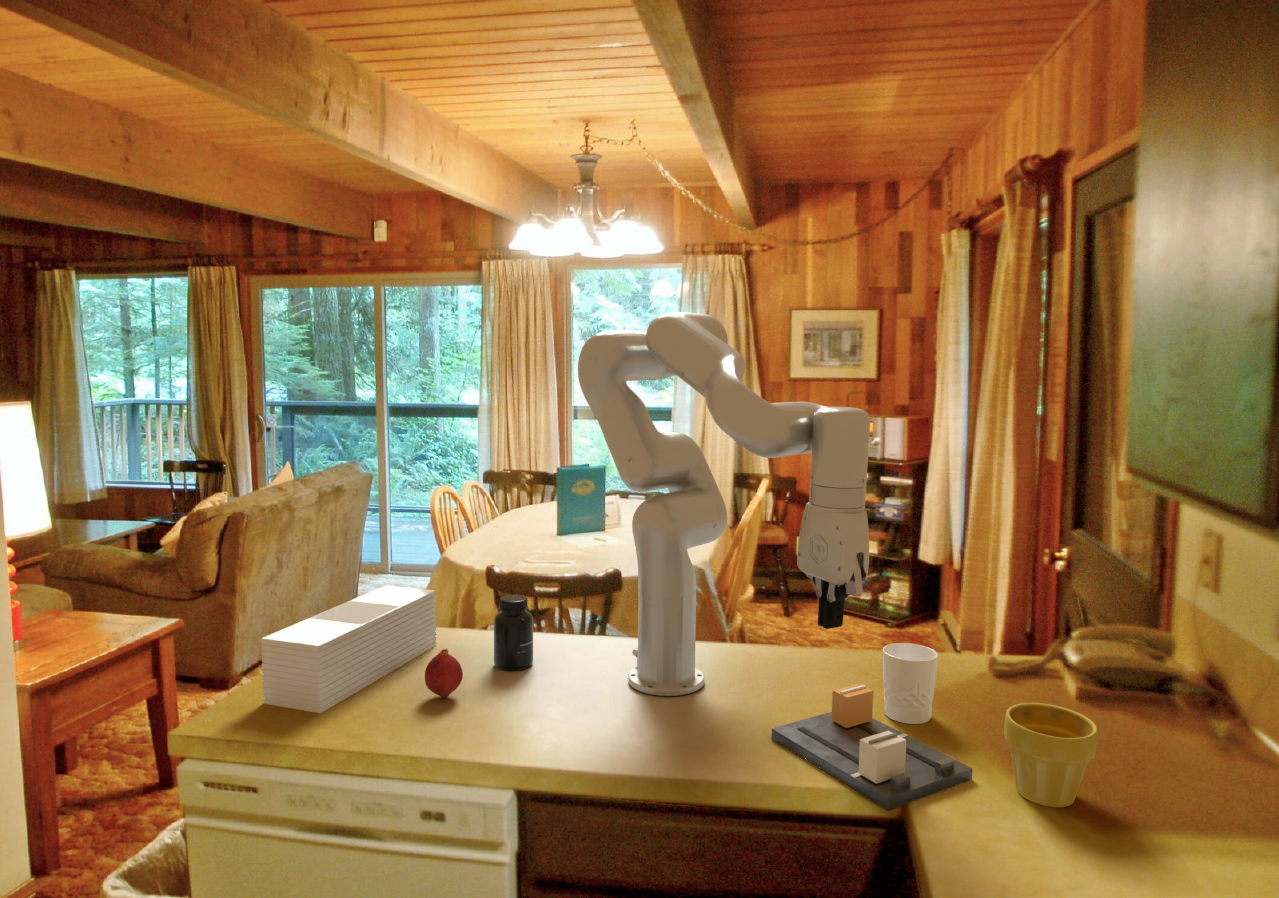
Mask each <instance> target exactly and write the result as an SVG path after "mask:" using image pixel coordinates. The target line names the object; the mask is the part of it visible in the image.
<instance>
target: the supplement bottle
mask: <svg viewBox="0 0 1279 898" xmlns="http://www.w3.org/2000/svg"><path fill="white" fill-rule="evenodd" d="M528 608H529V605H528V597H527V596H525V595H521V594H507V595H504V596H501V597H500V598H499V605H498V609H499V612H497V613H496V614H495V616H494V619H493V665H494V666H495V667H496V668H497V669H499V670H502V671H507V672H508V671H509V672H510V671H512V672H514V671H515V672H516V671H517V672H518V671H523V670H526V669H528V668H530V667H532V665H533V663H534V618H533V615H532V613H531V612H529V610H528Z"/></svg>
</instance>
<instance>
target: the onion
mask: <svg viewBox="0 0 1279 898" xmlns="http://www.w3.org/2000/svg"><path fill="white" fill-rule="evenodd" d="M463 675H464V673H463V669H462V666H461V664H460V662H459V660H458V659H457V658H456V657H454V656H453V655H451V654H450V653H449V649H448V648H447V647H445V648H442V649H441V650H440V651H439V652H438V654H437V655H435V656H434V657H432V658H431V660H429V662H428V663H427V666H426V668H425V671H424V682H425V686H426V687H427V689H428V690H429V691H431V692H432V693H433V694H435V695H436V696H439V697H440V698H444V699H446V698H448V697H449V696H450V695H451V694H452V693H453V692H454V691H456V690H457V689H458V688H459V686H460V685H461V683H462V681H463Z"/></svg>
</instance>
